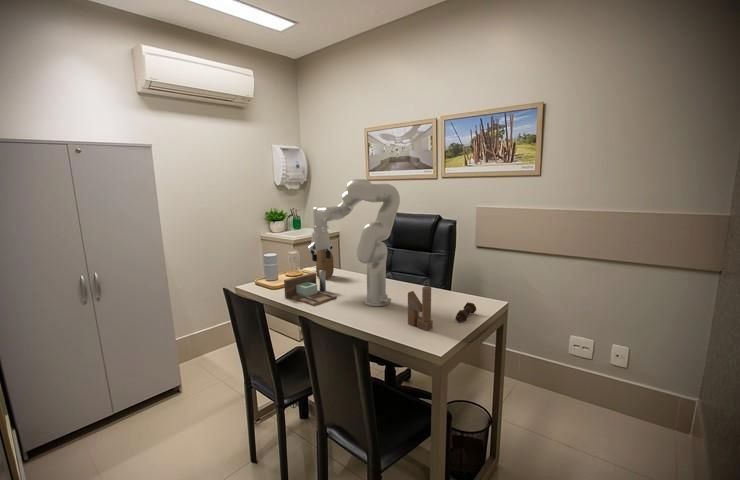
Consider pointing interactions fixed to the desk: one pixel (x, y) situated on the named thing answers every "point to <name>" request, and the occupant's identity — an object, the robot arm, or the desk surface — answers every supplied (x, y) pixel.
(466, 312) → the dumbbell
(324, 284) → the peg
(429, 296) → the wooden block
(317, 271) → the brown tall rounded block
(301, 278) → the backstop board
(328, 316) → the desk surface
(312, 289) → the teal square socket
